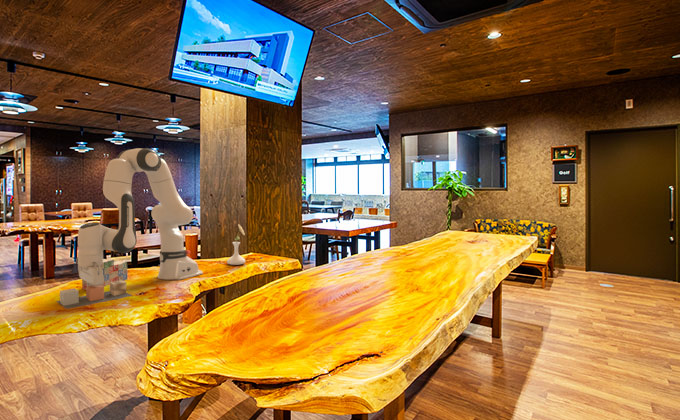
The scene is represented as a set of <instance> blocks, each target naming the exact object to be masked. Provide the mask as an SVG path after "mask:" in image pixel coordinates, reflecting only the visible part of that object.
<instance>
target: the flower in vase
mask: <svg viewBox="0 0 680 420" xmlns="http://www.w3.org/2000/svg"><path fill="white" fill-rule="evenodd" d="M237 226H238V229H239V230H238V233H237V235H236V237H235V238H234V241H232V245H233V247H234V248H233V249H234V251H233V254H232V256H230V257H229V258H228V259H227V261H226V263H227V264H228V265H230V266H231V265H232V266H238V265H239V266H240V265H243V264H245V263H246V259H245V258H244V257H243V256H241V255H240V254H239V246H240V244H241V241H239V240H240V238H241V237H240V236H239V233H240V232H241V235H243V236H246V234H245V231H244V229H243V227H242V226H241V224H239V223H238V225H237Z"/></svg>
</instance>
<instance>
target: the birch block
mask: <svg viewBox="0 0 680 420" xmlns="http://www.w3.org/2000/svg"><path fill="white" fill-rule="evenodd" d="M109 291H110V294H112V295H114V296H115V295H120V294H125V293H126V292H127V282H126V280H123V281H122V280H120V281H114V282H110V285H109Z"/></svg>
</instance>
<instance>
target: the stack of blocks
mask: <svg viewBox="0 0 680 420" xmlns="http://www.w3.org/2000/svg"><path fill="white" fill-rule="evenodd" d="M100 267H101V268H102V270H103V280H104V282H103V285H101V286H103V287H104V288H105V287H107V286H110V282H114V281H120V280H122V281H126V280H128V262H127V261H121V260H120V261H119V260H114V259H112V258H111V259H110V258H108V259H107V258H103V264H101V265H100ZM81 280H82V282H81V283H82V285H81V287H82V289H81V290H86V287H87V282H86V281H84V280H83V279H81Z"/></svg>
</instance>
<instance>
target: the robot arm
mask: <svg viewBox="0 0 680 420" xmlns="http://www.w3.org/2000/svg"><path fill="white" fill-rule="evenodd" d="M141 172H144V173H145V174H146V176H147V179H148V182H149V186H150V189H151V192H152V196H153V197H154V199H156V200H157V201H158V202H159V203H160V204H156V205H154V206H153V208H152V210H151V213H150V214H151V215H150V216H151V217H152V219H153V220H154V222H155V223H156V226H157V229H158V231H159V237H160V250H159V263H160V266H159V269H158V270H159V271H158V275H157V278H158V280H159V279H160V280H184V279H189V278H192V277H195V276H199V275H203V274H204V273H203V271H202V270H201V269H199V266H198V263H197V262H196V261H195V260H194V259H192V258H191V257H189V256H188V255H190V254H191V251H190V250H188V249H185V248H184V234H183V233H182V232H181V230H180V228H179V226H185V225H188V224H190V223H191V222H192V220H193V218H194V212H193V210H192V208H191V207H189V206H188V205H187V204H186V203H185V202H184V200H183V199H182V197H181V196H180V194H179V193H178V190H177V187H176V184H175V182H174V178H173V176H172V173H171V170H170V168H169V166H168V163H167V162H166V160H165V159H164V158H161V157H160V156H159V153H158V152H157V151H155V150H153V149H152V148H146V147H145V148H140V147H139V148H133V149H126V150H122V151H121V152H119V154H118V155H117V157H116V158H113V159H111V160H110V161H108V163H107V166H106V170H105V172H104V178H103V185H102V192H103V195H104V197H105V199H107V200H108V201H110V202H111V203H113V204H114V205H115V206H116V207H117V209H118V212H119V213H118V229H115V228H109V227H106V226H104V225H102V224H101V223H100V222H87V223H83V224H82V225H80V226H79V229H78V232H77V246H78V252H77V253H78V254H77V257H76V259H75V263H77V269H78V270H77V271H78V276H79V278H80V280H82V279H83V280H84V281H86V282H87V287H88V286H100V285H103V282H104V280H103V270H102V268H101V267H100V265H101V264H103V259H104V250H105V251H110V252H111V251H112V252H116V253H120V254H127V253H129V252H131V251H133V250H134V248H135V247H136V245H137V234H136V226H135V225H136V223H135V222H136V221H135V220H136V217H135V216H136V209H135V208H136V207H135V206H136V205H135V199H134V197H133V195H132V193H133V192H132V185H133V177H134V175H135V173H141Z"/></svg>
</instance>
